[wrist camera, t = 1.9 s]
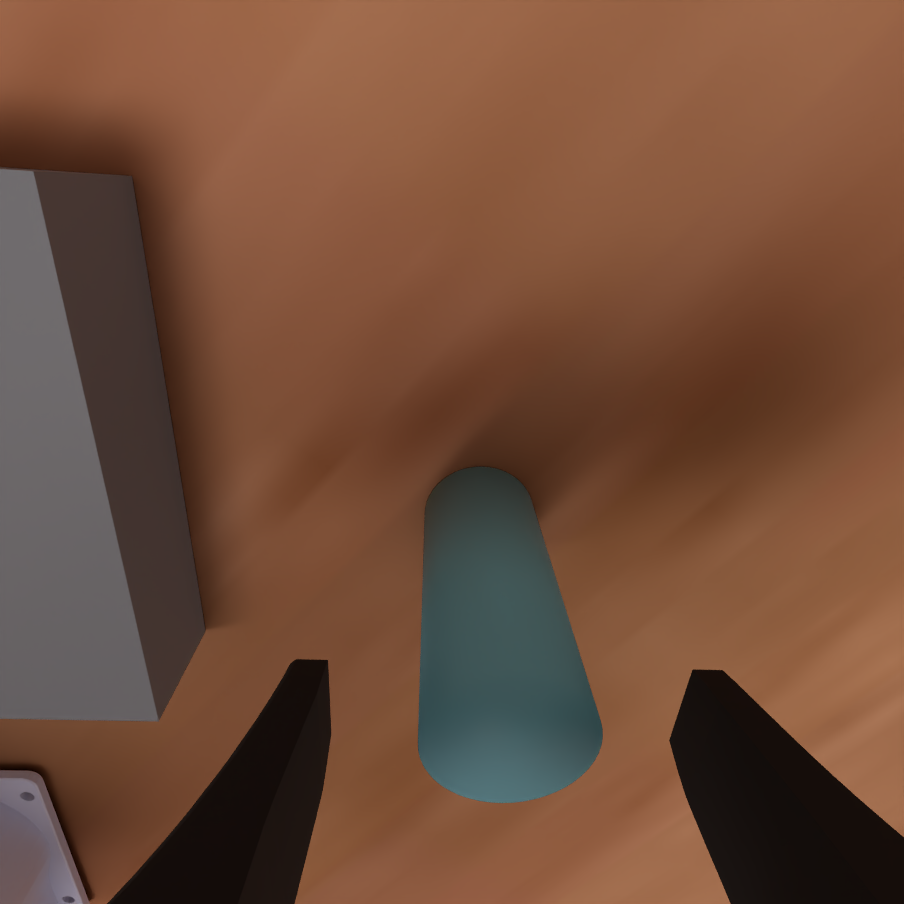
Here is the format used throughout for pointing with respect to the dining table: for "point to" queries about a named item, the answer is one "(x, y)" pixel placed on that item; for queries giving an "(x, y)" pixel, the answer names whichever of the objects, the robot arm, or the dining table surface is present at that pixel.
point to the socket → (86, 462)
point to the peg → (497, 649)
